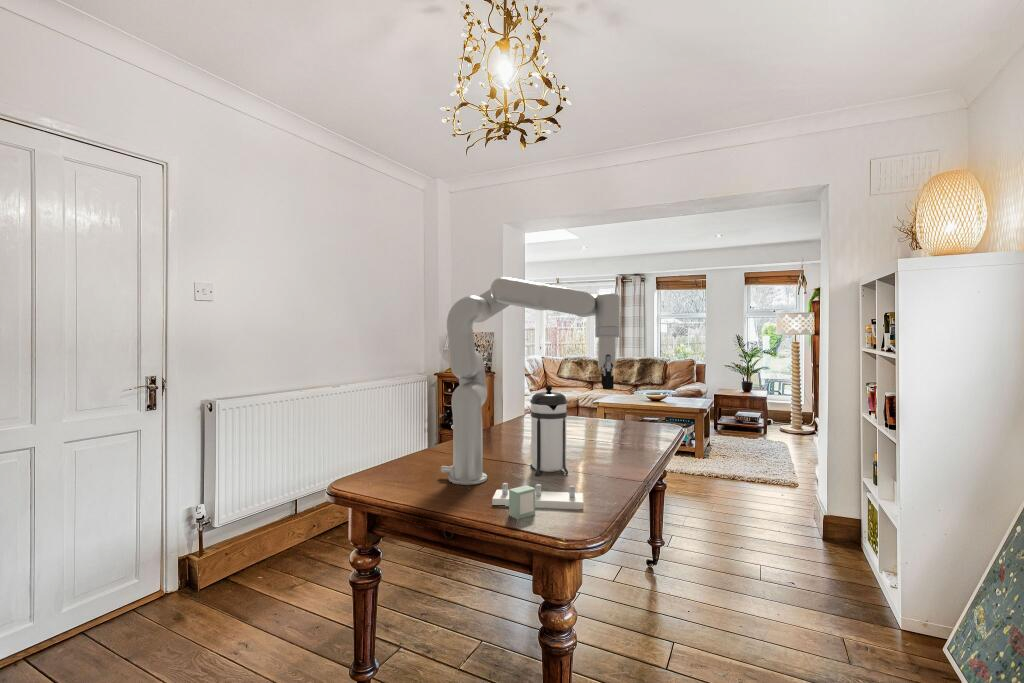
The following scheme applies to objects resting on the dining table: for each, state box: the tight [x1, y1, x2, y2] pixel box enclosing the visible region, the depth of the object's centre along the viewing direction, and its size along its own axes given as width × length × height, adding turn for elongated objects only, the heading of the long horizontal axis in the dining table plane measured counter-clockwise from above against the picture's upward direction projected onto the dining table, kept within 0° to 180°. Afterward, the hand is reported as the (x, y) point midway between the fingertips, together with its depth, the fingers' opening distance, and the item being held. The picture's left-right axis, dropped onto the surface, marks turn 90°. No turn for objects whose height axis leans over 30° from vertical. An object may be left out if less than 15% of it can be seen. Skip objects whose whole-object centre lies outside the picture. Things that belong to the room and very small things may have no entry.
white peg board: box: [491, 482, 584, 510], centre depth 141 cm, size 25×8×5 cm, turn 83°
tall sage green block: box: [508, 484, 536, 520], centre depth 132 cm, size 6×4×7 cm, turn 128°
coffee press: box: [529, 384, 569, 477], centre depth 174 cm, size 17×16×30 cm
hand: (607, 387), depth 157 cm, fingers open, 9 cm apart
